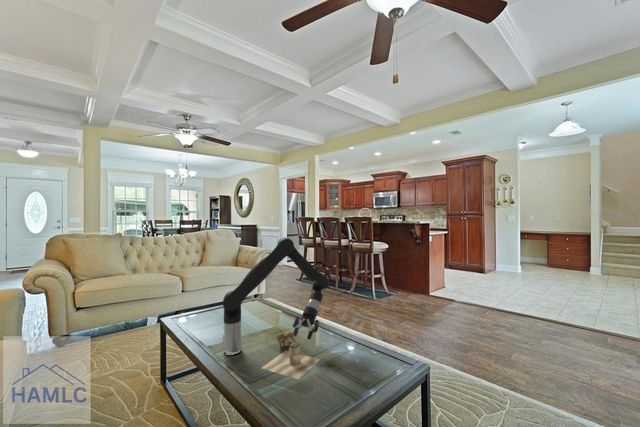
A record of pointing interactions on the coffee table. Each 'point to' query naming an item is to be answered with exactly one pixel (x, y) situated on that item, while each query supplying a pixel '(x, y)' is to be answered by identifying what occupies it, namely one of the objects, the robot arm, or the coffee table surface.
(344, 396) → the coffee table surface
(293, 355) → the white block
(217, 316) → the coffee table surface
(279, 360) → the wooden board
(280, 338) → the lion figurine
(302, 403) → the coffee table surface
